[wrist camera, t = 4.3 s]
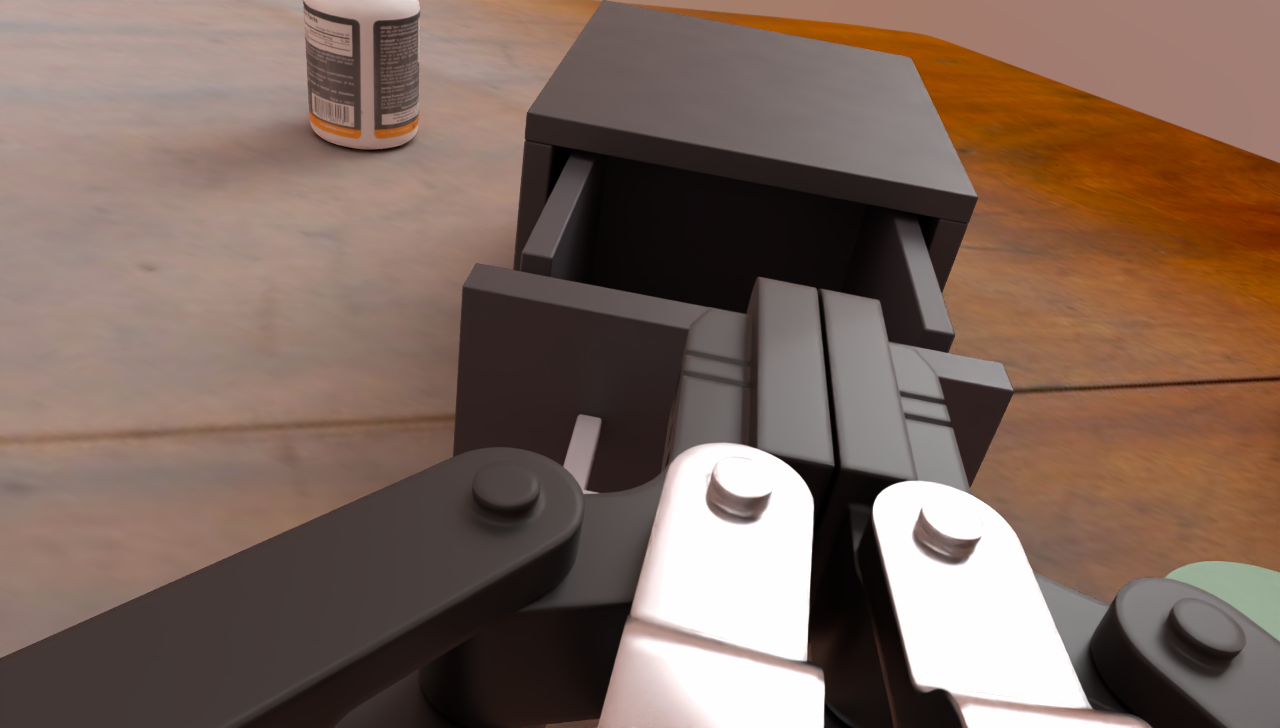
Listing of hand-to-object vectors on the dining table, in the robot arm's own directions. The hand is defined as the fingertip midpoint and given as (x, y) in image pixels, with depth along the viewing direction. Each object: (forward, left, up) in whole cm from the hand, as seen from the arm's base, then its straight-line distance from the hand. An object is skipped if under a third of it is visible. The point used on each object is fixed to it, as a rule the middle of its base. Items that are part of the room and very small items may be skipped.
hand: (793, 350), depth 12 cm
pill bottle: (+13, -41, -14) cm, 45 cm away
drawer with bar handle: (-2, -13, -13) cm, 19 cm away
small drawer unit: (-4, -25, -14) cm, 29 cm away
